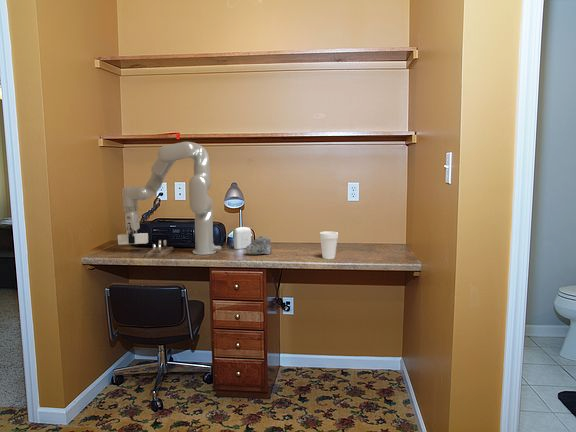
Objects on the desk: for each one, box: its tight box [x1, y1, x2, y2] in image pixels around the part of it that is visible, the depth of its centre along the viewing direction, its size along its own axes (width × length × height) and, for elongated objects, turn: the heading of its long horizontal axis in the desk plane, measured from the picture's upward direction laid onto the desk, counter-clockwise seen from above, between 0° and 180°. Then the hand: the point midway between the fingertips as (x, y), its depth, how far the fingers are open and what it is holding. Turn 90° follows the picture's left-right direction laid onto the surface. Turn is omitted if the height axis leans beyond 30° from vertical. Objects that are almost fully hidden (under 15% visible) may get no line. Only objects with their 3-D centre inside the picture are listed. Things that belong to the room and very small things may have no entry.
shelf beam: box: [117, 232, 149, 245], centre depth 245 cm, size 15×4×5 cm, turn 94°
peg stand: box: [145, 239, 174, 258], centre depth 242 cm, size 10×20×6 cm, turn 2°
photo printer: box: [233, 226, 252, 250], centre depth 256 cm, size 10×4×12 cm, turn 123°
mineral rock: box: [245, 235, 272, 256], centre depth 240 cm, size 13×11×10 cm
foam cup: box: [319, 230, 339, 260], centre depth 230 cm, size 10×9×13 cm
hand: (133, 242), depth 245 cm, fingers closed on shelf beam, 4 cm apart
